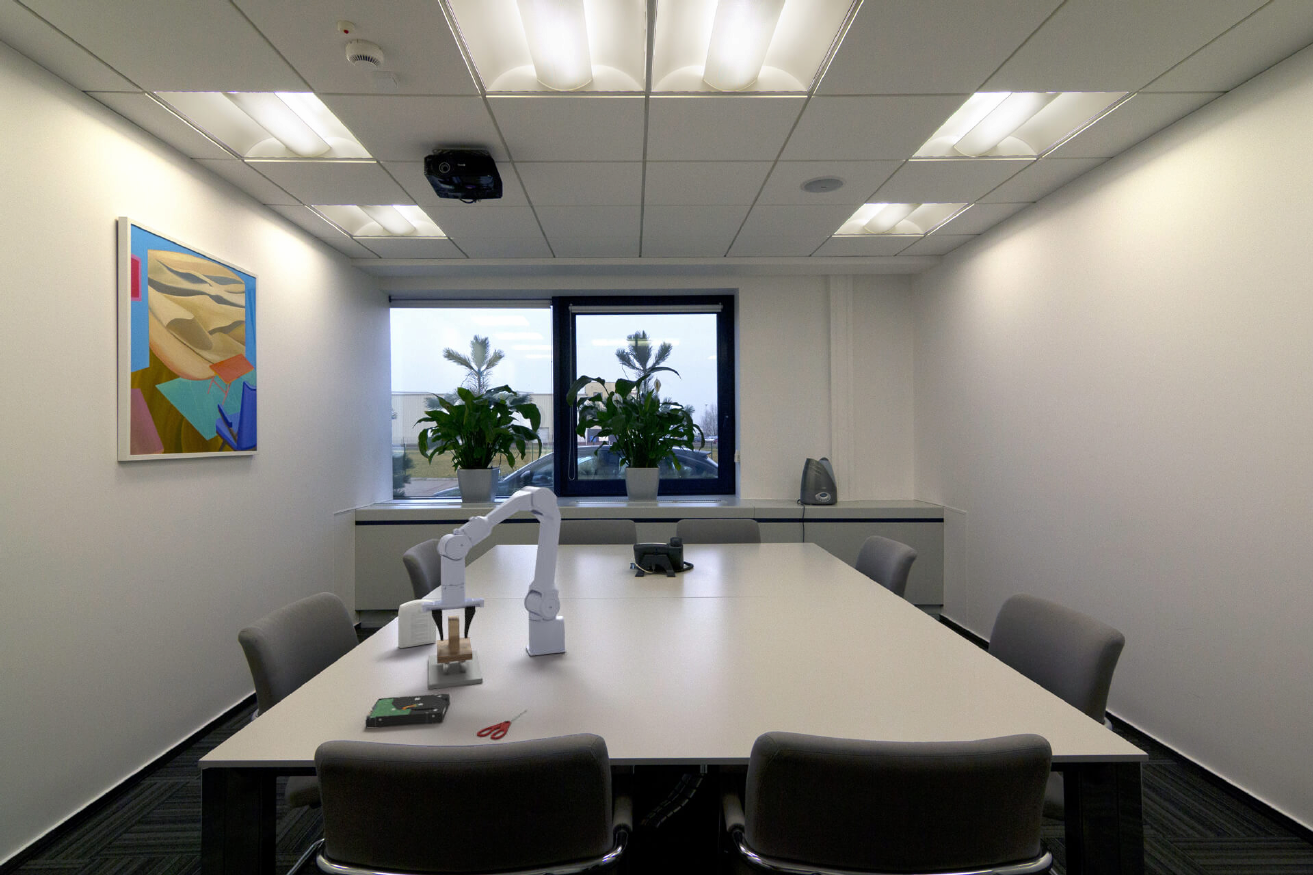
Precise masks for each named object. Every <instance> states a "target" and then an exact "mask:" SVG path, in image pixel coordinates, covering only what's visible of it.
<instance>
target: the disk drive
mask: <svg viewBox="0 0 1313 875" xmlns="http://www.w3.org/2000/svg"><path fill="white" fill-rule="evenodd" d="M450 696H451V695H450V693H438V694H425V695H424V694H423V695H410V696H396V697H382V698H378V699H377V700H376V702H375V703H374V705H373V706H372V707H371V710H369V713H368V714H367V715H366V716H365V717H366V719H365V728H366V727H378V728H387V727H388V728H389V727H402V726H413V725H414V726H415V725H417V726H418V725H430V724H431V725H432V724H442V723H443V720H444V718H445V717H446V714H447V712H448V709H449V708H450V704H451V698H450Z"/></svg>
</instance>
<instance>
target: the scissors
mask: <svg viewBox="0 0 1313 875" xmlns="http://www.w3.org/2000/svg"><path fill="white" fill-rule="evenodd" d="M527 712H528V709H524V710H523V711H521V712H520V713H518V714H517V715H515V716H514V717H512V718H510V719H508V720H505V721H502V722H500V723H496V724H494V725H489V726H487V727H485V728H482V729H480V730H479V731H477V733H476V736H477V737H479V738H484V737H488V736H489V735H490V734H491V735H490V739H491V740H496V741H497V740H500V739H502V738H503V737H505V735H507V732H508V731H509V727H510V726H511V725H512V723H513V722H514V721H517V719H518V718H520V717H521V716H523V715H524V714H526V713H527ZM486 731H487V732H486ZM484 732H486V733H484ZM501 732H502V733H501ZM500 733H501V734H500ZM499 734H500V735H499ZM496 735H498V736H496Z"/></svg>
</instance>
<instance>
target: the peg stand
mask: <svg viewBox="0 0 1313 875" xmlns="http://www.w3.org/2000/svg"><path fill="white" fill-rule="evenodd" d="M472 655H473V660H465V661H456V662H447V663H438V664H437V654H433V655H428V690H434V688H436V689H443V688H450V687H459V686H466V685H467V684H468V685H474V684H482V683H481V682H484V681H483V673H482V670H481V665H480V660H479V655H478V651H477V650H472ZM468 685H467V686H468Z"/></svg>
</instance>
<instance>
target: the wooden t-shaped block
mask: <svg viewBox="0 0 1313 875" xmlns="http://www.w3.org/2000/svg"><path fill="white" fill-rule="evenodd" d="M447 623H448V624H447V626H448V628H447V629H448V630H447V633H448V634H447V635H448V636H447V637H448V638H447V639H443V641H440V640H439V639H436V655H437V664H438V663H447V662H456V661H465V660H473V655H472V651H473V649H472V644H471V638H470V637H469V636H468V638H465V637H460V633H461V632H460V615H458V614H457V615H449V616H447Z"/></svg>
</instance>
